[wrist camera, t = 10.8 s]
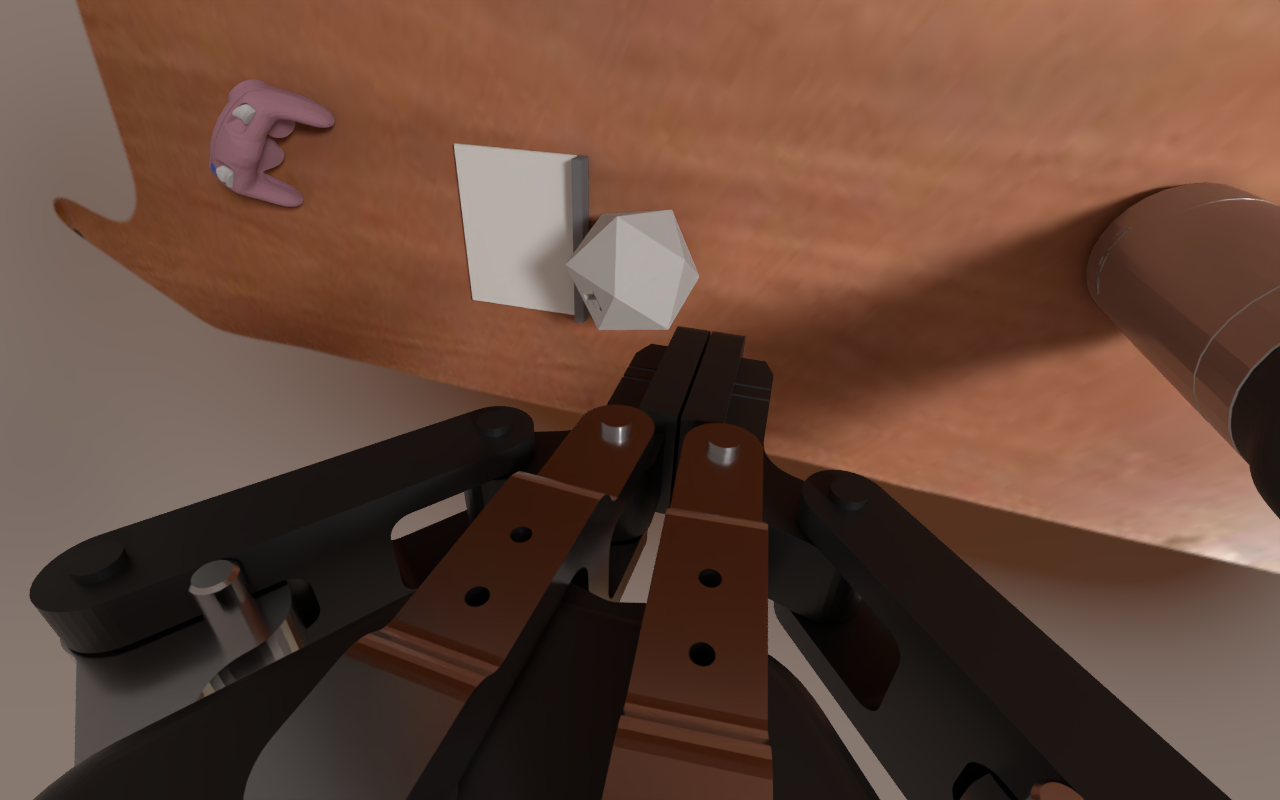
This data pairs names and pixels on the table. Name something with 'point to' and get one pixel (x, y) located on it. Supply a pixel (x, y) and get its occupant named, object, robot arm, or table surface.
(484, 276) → the white l-shaped plate
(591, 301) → the die
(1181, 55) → the table surface
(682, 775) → the robot arm
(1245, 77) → the table surface
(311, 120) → the video game controller
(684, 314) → the table surface
